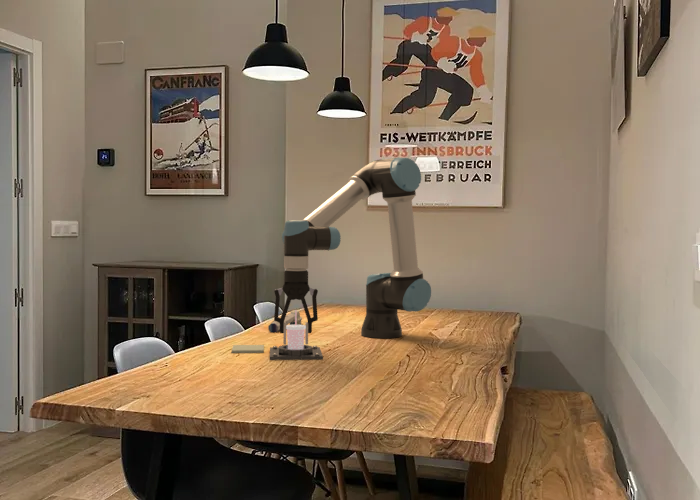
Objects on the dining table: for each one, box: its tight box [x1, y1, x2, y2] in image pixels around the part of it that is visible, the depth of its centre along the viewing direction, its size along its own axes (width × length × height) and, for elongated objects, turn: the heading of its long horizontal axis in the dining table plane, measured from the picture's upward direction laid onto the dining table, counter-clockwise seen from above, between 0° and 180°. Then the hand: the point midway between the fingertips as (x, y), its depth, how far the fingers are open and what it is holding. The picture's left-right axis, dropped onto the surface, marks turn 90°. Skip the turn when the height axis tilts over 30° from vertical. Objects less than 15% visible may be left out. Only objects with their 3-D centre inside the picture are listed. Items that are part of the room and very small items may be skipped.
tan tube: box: [267, 309, 303, 333], centre depth 274 cm, size 5×7×25 cm
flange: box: [269, 344, 324, 361], centre depth 217 cm, size 16×16×2 cm
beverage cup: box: [286, 309, 306, 349], centre depth 217 cm, size 6×6×14 cm
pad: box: [231, 344, 265, 354], centre depth 224 cm, size 10×10×1 cm
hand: (295, 343), depth 217 cm, fingers closed on beverage cup, 6 cm apart
